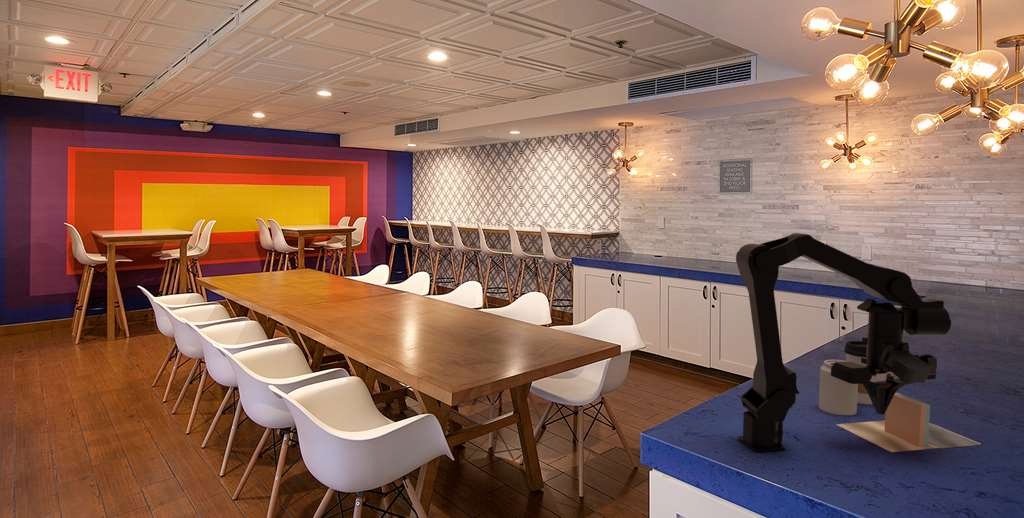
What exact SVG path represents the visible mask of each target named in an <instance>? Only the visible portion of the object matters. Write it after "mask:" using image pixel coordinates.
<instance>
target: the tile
mask: <svg viewBox="0 0 1024 518" xmlns="http://www.w3.org/2000/svg"><path fill="white" fill-rule="evenodd" d="M884 415H885V418H884V421H885V430H884V431H886V432H888V433H890V434H892V435H894V436H896V437H899V438H901V439H903V440H905V441H907V442H909V443H912V444H914V445H916V446H918V447H923V446H928V435H929V423H930V416H931V404H928V403H926V402H923V401H920V400H917V399H915V398H913V397H909V396H907V395H904V394H902V393H900V392H896V393H895V395H894V396H893V398H892V400H891V402H890V404H889V406H888V408H887V410H886V412H885V414H884Z"/></svg>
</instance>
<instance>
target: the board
mask: <svg viewBox="0 0 1024 518" xmlns="http://www.w3.org/2000/svg"><path fill="white" fill-rule="evenodd" d="M836 426H838V427H840V428H842V429H845V430H846V431H848V432H850V433H852V434H854V435H856V436H858V437H861V438H862V439H864V440H866V441H868V442H870V443H872V444H875V446H879V447H880V448H882V449H884V450H886V451H888V452H891V453H897V452H898V453H900V452H908V451H909V452H910V451H919V450H930V449H942V450H943V449H944V450H945V449H952V448H962V447H963V448H964V447H973V446H974V447H976V446H982V443H981V442H977V441H976V440H972V439H970V438H969V437H965V436H963V435H961V434H958V433H956V432H953V431H951V430H948V429H945V428H943V427H940V426H939V425H936V424H933V423H931V422H929V435H928V446H923V447H918V446H916V445H914V444H912V443H909V442H907V441H905V440H903V439H901V438H899V437H896V436H894V435H892V434H890V433H888V432H886V431H884V430H885V420H875V421H873V420H872V421H863V422H861V421H860V422H850V423H849V422H847V423H837V424H836Z"/></svg>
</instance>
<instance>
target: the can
mask: <svg viewBox="0 0 1024 518" xmlns="http://www.w3.org/2000/svg"><path fill="white" fill-rule="evenodd" d="M835 362H848V361H846V360H842V359H827V360H826V359H825V360H823V364H822V366H820V368H819V369H820V372H819V373H820V374H819V391H818V392H819V395H818V408H819V409H820V410H821V411H823V412H826V413H827V414H828V413H829V414H833V415H838V416H854V415H856V414H857V412H858V409H857V408H858V403H857V394H858V384H851V383H848V382H845V381H843V380H840V379H838V378H835V377H833V376H831V366H832V365H833V364H834V363H835Z"/></svg>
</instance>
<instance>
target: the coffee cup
mask: <svg viewBox="0 0 1024 518" xmlns="http://www.w3.org/2000/svg"><path fill="white" fill-rule="evenodd" d="M843 350H844V351H843V352H844V353H845V357H846V358H845V361H848V362H849V361H850V362H853V363H856V364H859V365H862V366H866V364H863V363H861V358H864V357H866V354H867V343H863V342H862V340H849V341H846V343H845V347H844V349H843ZM876 371H879V370H876ZM857 404H861V405H873V404H872V401H871V399H870V397H869V395H868V393H867V391H866V389H865V387H864V386H863V384H858V394H857Z"/></svg>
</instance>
